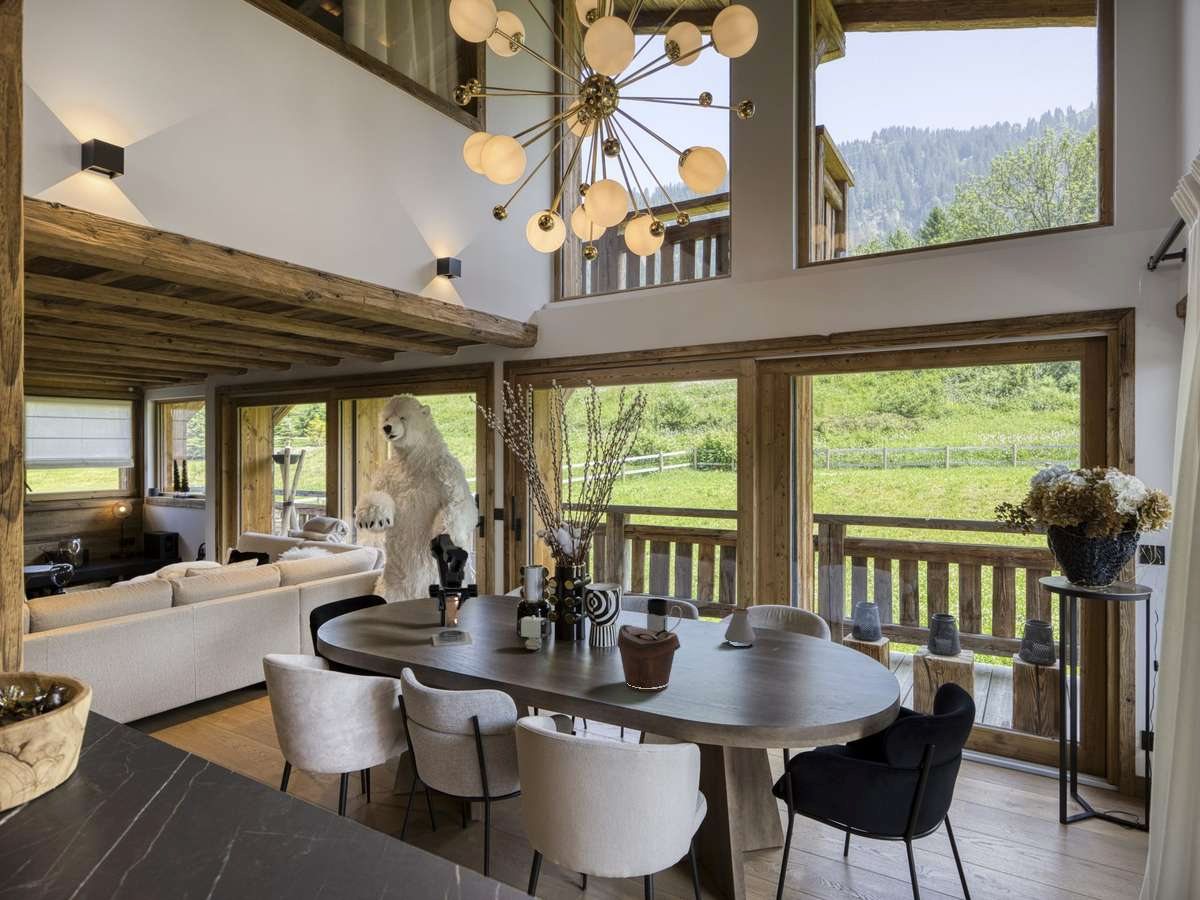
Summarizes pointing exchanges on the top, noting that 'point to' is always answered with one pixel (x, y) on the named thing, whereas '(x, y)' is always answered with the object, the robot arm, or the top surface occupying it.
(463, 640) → the duct collar plate
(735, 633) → the coffee pot
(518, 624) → the pneumatic valve
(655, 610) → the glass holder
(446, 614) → the copper cylindrical jar
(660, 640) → the brown flower pot
